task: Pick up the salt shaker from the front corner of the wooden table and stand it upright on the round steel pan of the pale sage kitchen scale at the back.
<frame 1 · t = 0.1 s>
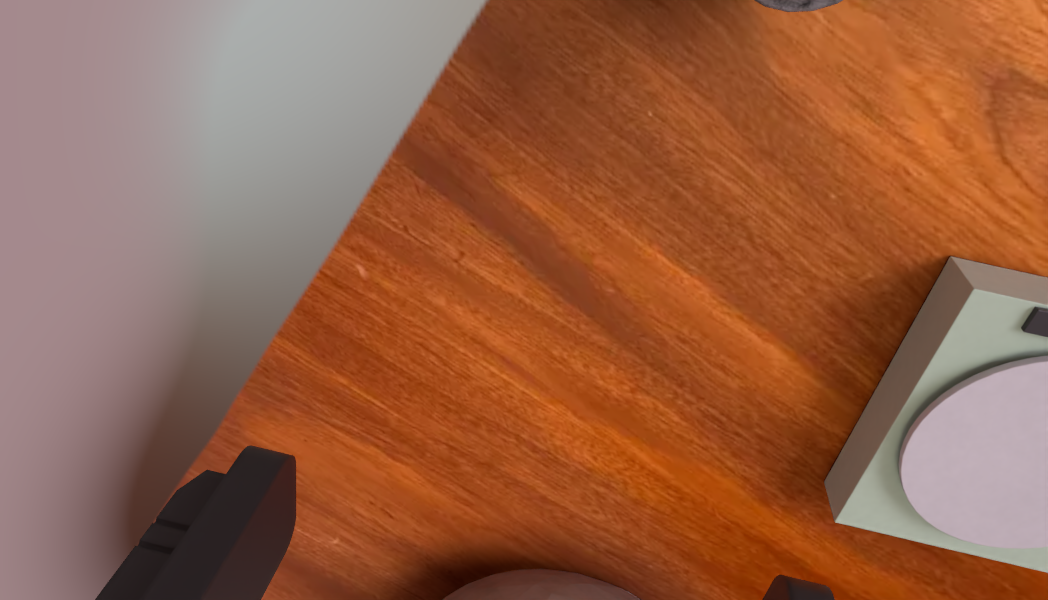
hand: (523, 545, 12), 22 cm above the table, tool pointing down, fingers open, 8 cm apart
scale: (1005, 409, 35), on the table
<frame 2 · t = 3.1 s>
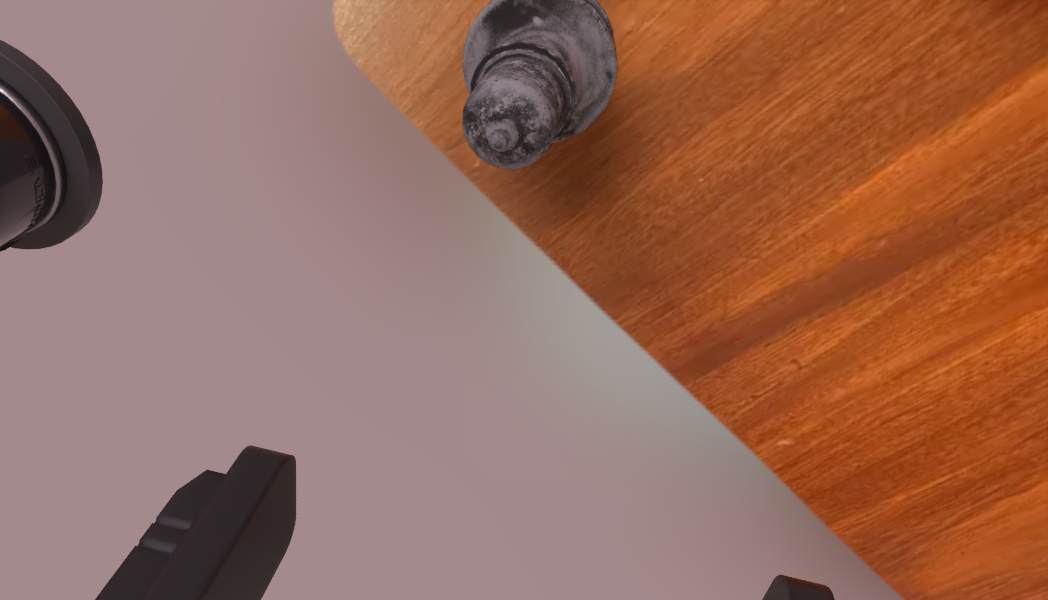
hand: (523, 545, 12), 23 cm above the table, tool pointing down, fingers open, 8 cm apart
salt shaker: (551, 46, 31), on the table
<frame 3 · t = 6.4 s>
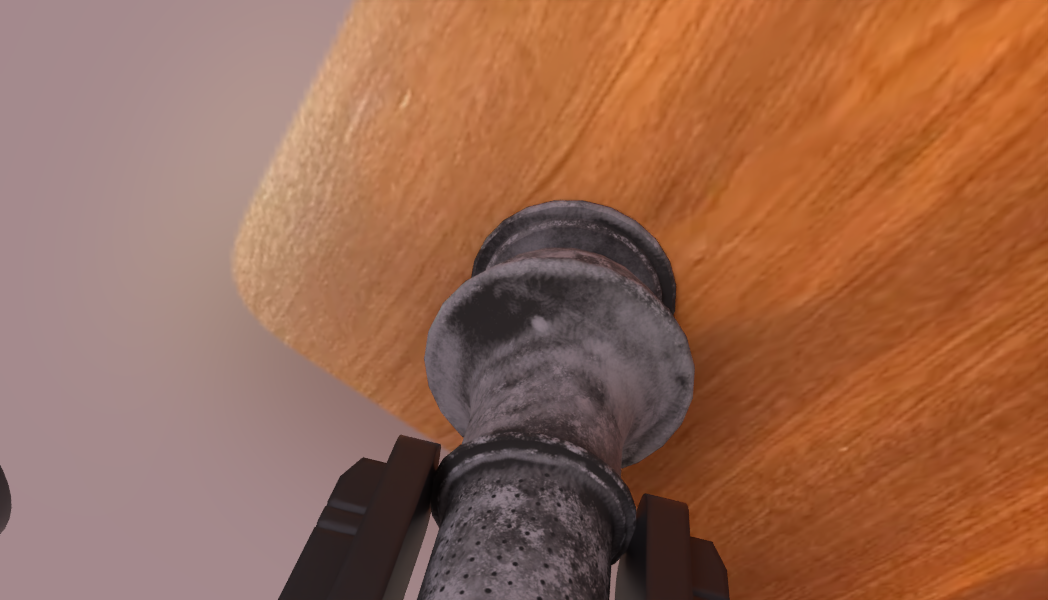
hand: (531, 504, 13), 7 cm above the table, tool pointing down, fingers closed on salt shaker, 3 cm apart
salt shaker: (572, 290, 19), on the table, touching gripper
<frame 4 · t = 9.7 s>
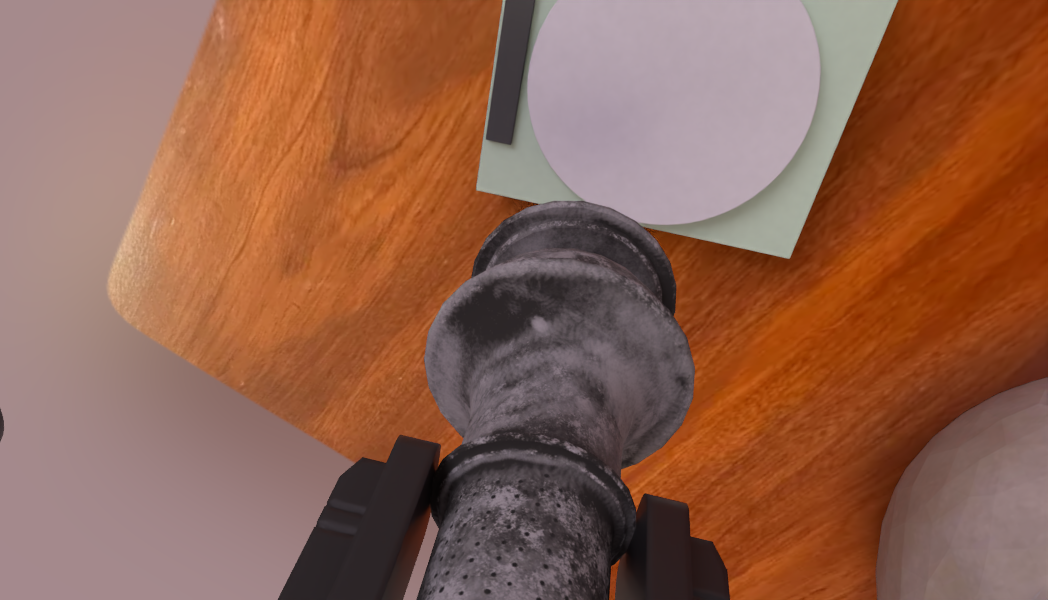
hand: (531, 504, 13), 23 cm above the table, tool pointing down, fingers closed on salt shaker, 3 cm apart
scale: (667, 71, 31), on the table
salt shaker: (572, 290, 19), point 16 cm above the table, touching gripper
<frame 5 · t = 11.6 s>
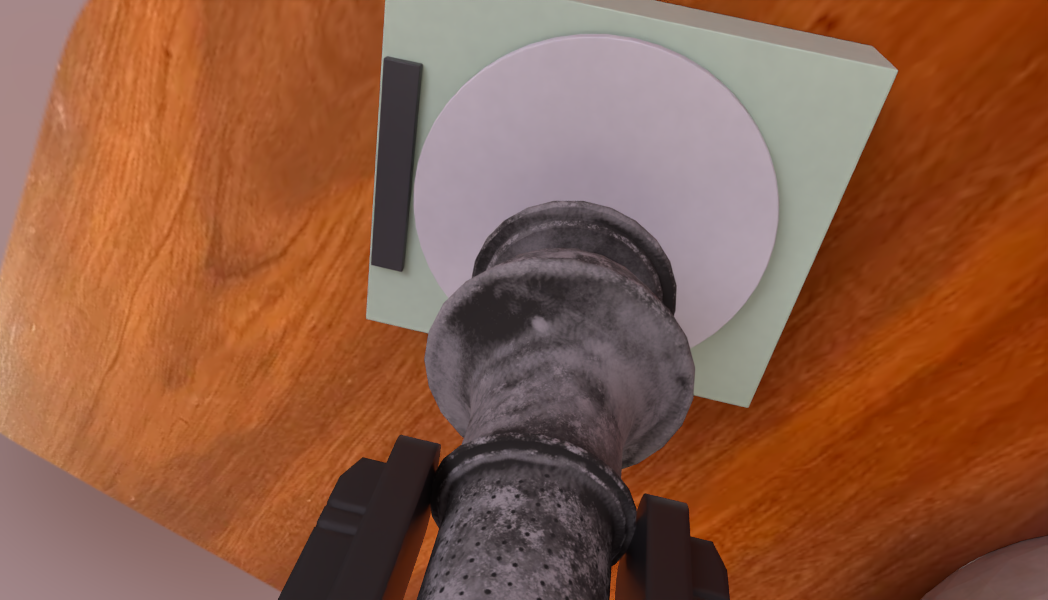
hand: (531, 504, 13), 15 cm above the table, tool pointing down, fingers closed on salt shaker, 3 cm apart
scale: (597, 179, 25), on the table
salt shaker: (572, 290, 19), point 7 cm above the table, touching gripper
when the fingers open (11 cm above the table, at t = 13.0 s): salt shaker stays where it is, resting on scale.
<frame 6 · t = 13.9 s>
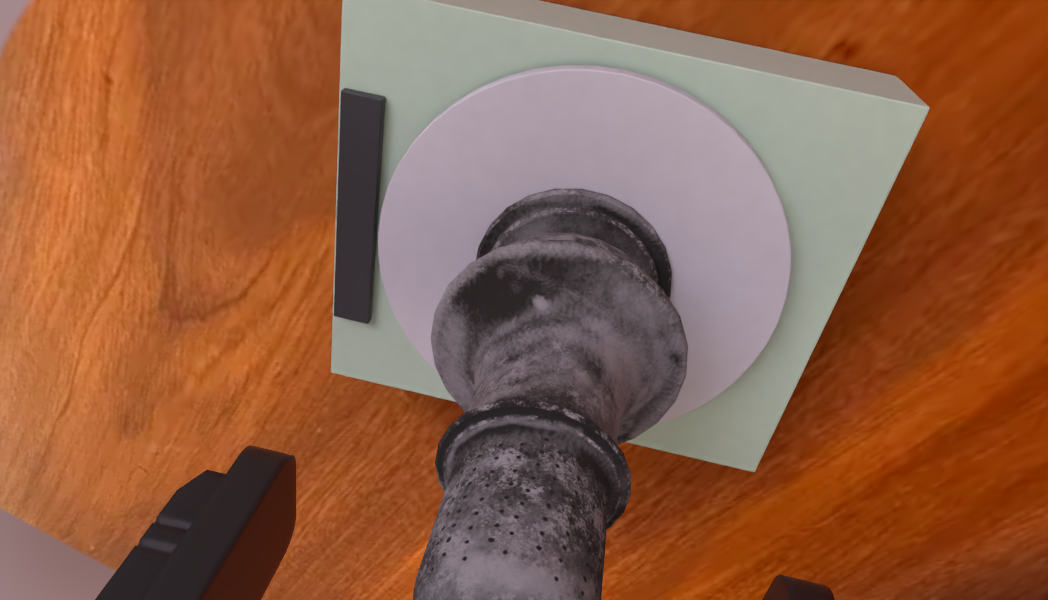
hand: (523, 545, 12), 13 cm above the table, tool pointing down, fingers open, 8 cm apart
scale: (586, 220, 23), on the table
salt shaker: (572, 276, 20), point 3 cm above the table, touching scale
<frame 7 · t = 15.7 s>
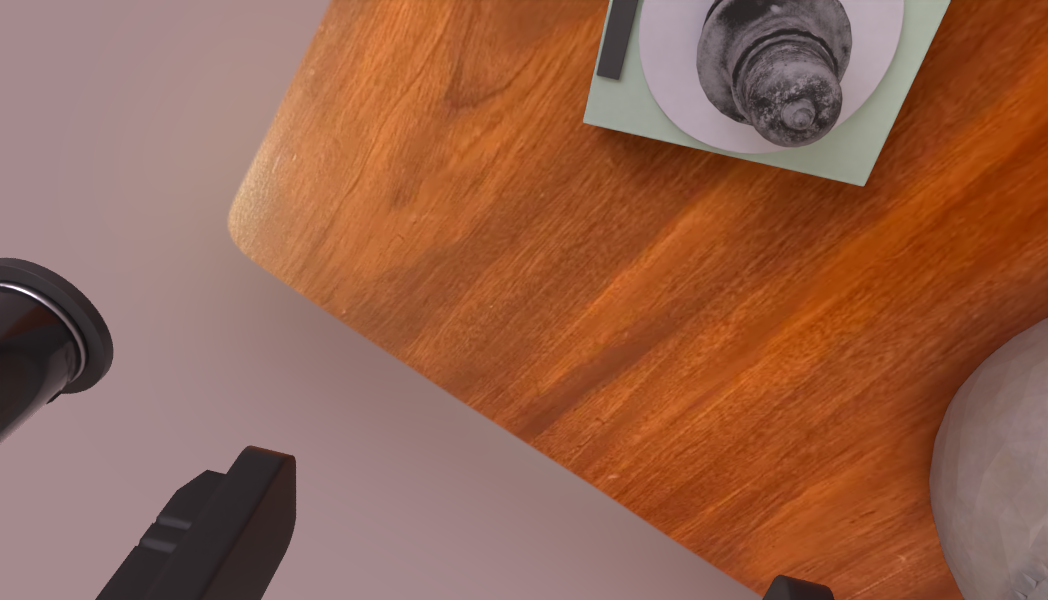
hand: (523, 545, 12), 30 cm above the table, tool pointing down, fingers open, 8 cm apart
scale: (758, 16, 35), on the table
salt shaker: (763, 33, 32), point 3 cm above the table, touching scale
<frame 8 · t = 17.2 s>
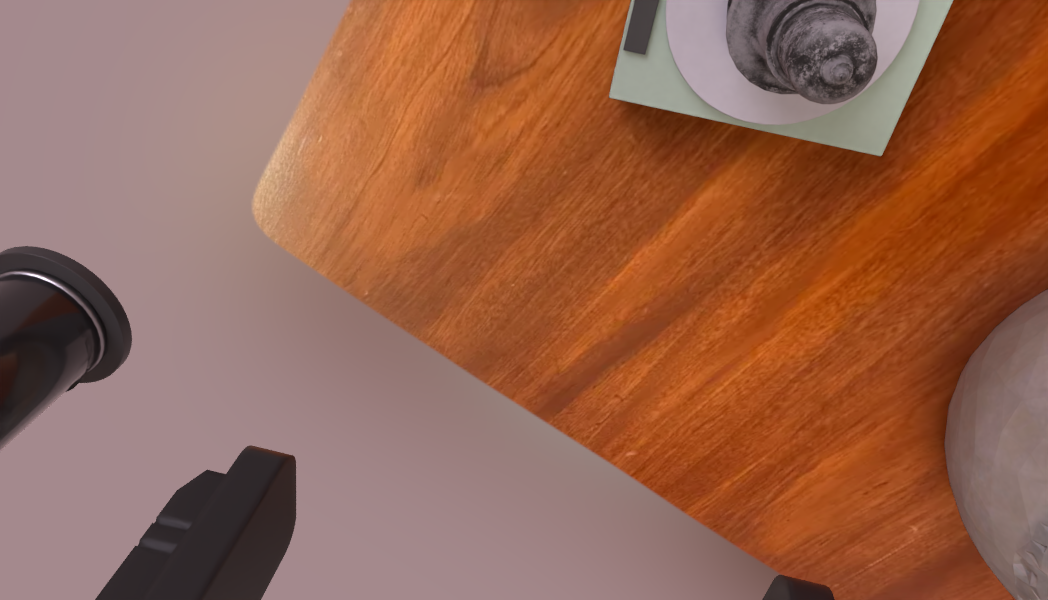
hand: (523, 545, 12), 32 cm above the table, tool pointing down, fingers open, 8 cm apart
salt shaker: (786, 7, 33), point 3 cm above the table, touching scale
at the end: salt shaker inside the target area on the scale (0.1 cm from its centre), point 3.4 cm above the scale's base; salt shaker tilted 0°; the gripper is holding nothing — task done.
